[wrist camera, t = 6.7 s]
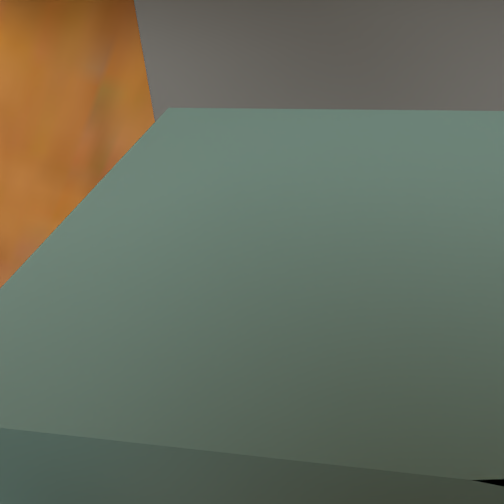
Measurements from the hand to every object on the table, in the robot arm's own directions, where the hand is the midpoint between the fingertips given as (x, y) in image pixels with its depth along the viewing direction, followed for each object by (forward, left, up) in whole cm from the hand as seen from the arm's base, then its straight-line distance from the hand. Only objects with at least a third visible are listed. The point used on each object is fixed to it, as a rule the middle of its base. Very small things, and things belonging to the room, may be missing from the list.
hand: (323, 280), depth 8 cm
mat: (0, 0, -6) cm, 6 cm away
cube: (0, 0, -1) cm, 1 cm away
